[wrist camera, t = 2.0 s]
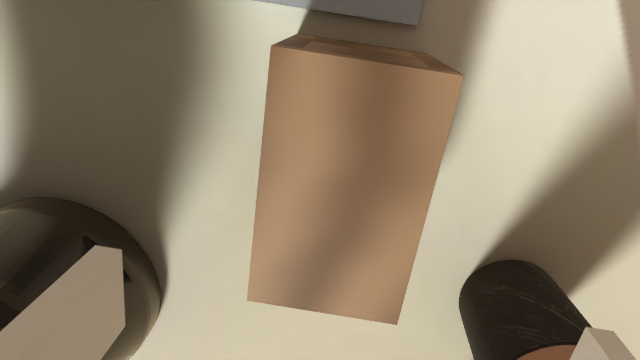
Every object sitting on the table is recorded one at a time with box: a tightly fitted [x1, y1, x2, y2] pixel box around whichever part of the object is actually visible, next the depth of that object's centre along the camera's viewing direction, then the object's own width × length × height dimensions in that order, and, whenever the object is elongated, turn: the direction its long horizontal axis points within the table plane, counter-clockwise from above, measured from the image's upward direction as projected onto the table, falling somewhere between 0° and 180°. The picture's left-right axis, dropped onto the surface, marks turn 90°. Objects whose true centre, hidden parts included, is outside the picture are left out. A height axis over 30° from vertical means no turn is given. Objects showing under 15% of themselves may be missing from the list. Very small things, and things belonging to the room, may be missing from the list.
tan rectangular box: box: [247, 34, 464, 325], centre depth 24 cm, size 8×13×9 cm, turn 172°
